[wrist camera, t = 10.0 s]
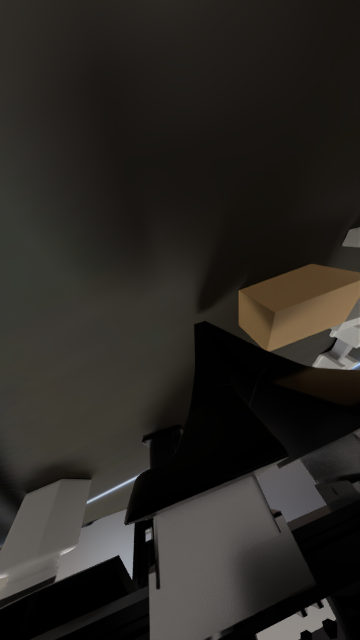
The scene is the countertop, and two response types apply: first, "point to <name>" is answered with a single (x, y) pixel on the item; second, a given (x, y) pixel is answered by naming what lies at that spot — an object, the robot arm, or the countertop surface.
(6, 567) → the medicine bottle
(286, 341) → the tan rectangular block
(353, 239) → the end holder
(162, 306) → the countertop surface
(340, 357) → the clip
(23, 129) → the countertop surface
